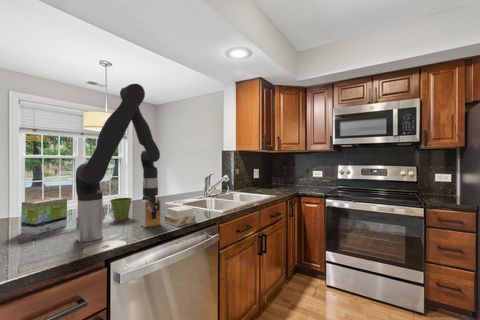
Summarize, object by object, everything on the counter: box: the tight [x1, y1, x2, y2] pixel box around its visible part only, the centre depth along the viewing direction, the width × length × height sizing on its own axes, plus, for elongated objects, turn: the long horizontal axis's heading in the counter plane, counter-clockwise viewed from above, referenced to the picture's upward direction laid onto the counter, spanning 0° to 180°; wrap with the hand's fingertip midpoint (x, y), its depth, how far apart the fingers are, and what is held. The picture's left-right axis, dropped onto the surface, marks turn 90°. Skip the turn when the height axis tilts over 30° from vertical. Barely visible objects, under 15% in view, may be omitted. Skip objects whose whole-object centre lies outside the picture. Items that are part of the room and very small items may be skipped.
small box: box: [140, 199, 161, 228], centre depth 125 cm, size 8×6×13 cm
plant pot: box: [109, 197, 133, 221], centre depth 138 cm, size 12×12×11 cm
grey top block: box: [167, 205, 194, 219], centre depth 131 cm, size 10×10×4 cm
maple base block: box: [164, 214, 196, 227], centre depth 131 cm, size 12×12×4 cm
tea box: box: [20, 197, 68, 235], centre depth 117 cm, size 15×10×15 cm
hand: (150, 217), depth 125 cm, fingers open, 8 cm apart
